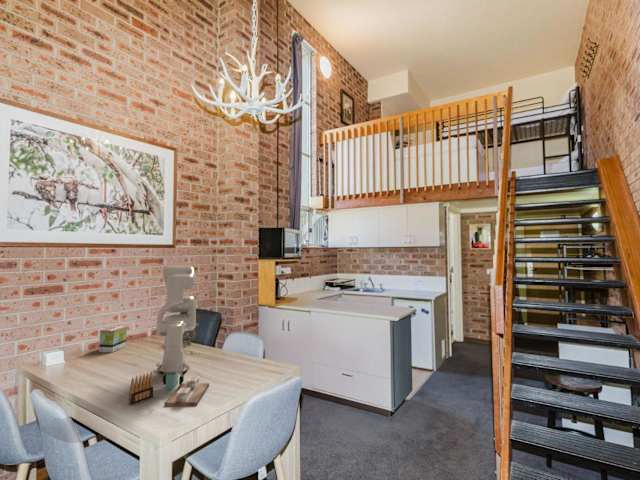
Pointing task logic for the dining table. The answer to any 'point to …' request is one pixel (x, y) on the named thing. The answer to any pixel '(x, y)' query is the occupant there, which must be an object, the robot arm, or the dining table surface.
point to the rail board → (192, 399)
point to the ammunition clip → (141, 389)
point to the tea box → (112, 338)
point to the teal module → (171, 380)
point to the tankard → (185, 336)
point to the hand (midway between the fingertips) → (173, 383)
